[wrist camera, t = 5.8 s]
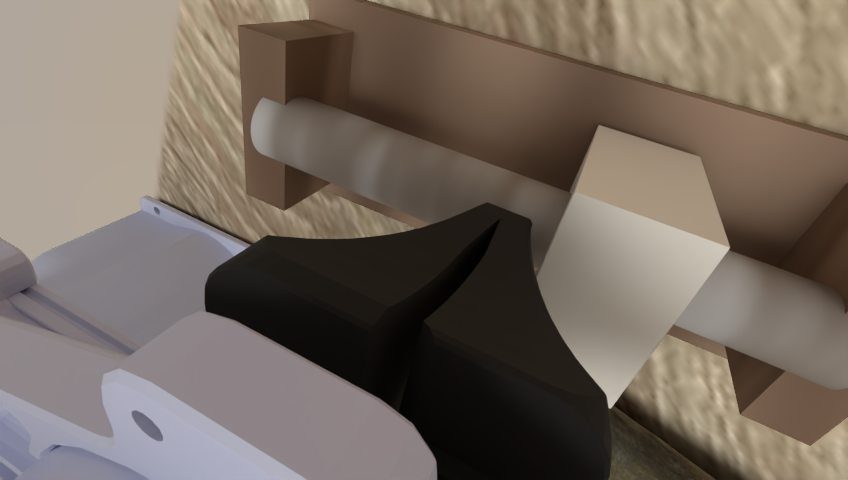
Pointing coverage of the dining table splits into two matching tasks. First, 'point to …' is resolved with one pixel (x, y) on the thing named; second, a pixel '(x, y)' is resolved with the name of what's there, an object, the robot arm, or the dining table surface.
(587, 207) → the collar
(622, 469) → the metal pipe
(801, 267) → the rail
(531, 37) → the dining table surface
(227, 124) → the dining table surface
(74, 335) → the robot arm
